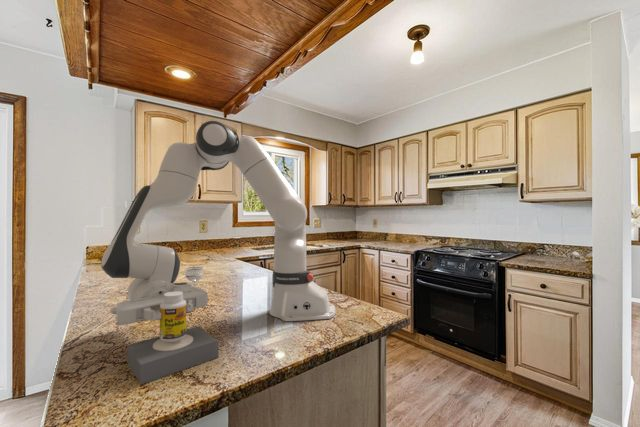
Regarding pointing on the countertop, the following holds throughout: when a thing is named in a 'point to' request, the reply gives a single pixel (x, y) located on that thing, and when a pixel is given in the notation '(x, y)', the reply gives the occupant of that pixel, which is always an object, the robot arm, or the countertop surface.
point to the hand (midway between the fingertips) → (174, 312)
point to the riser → (170, 354)
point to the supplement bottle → (173, 317)
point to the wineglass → (194, 274)
